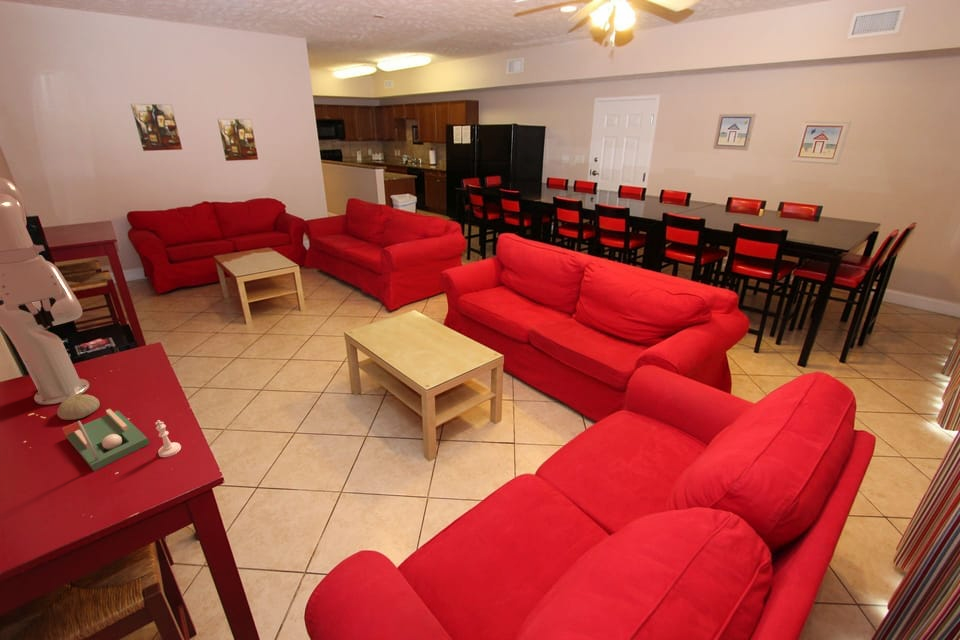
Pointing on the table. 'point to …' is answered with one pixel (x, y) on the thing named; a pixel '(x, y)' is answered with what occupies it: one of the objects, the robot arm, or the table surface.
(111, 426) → the mat
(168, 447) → the chess piece
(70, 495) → the table surface
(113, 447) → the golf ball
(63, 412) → the sea urchin shell
